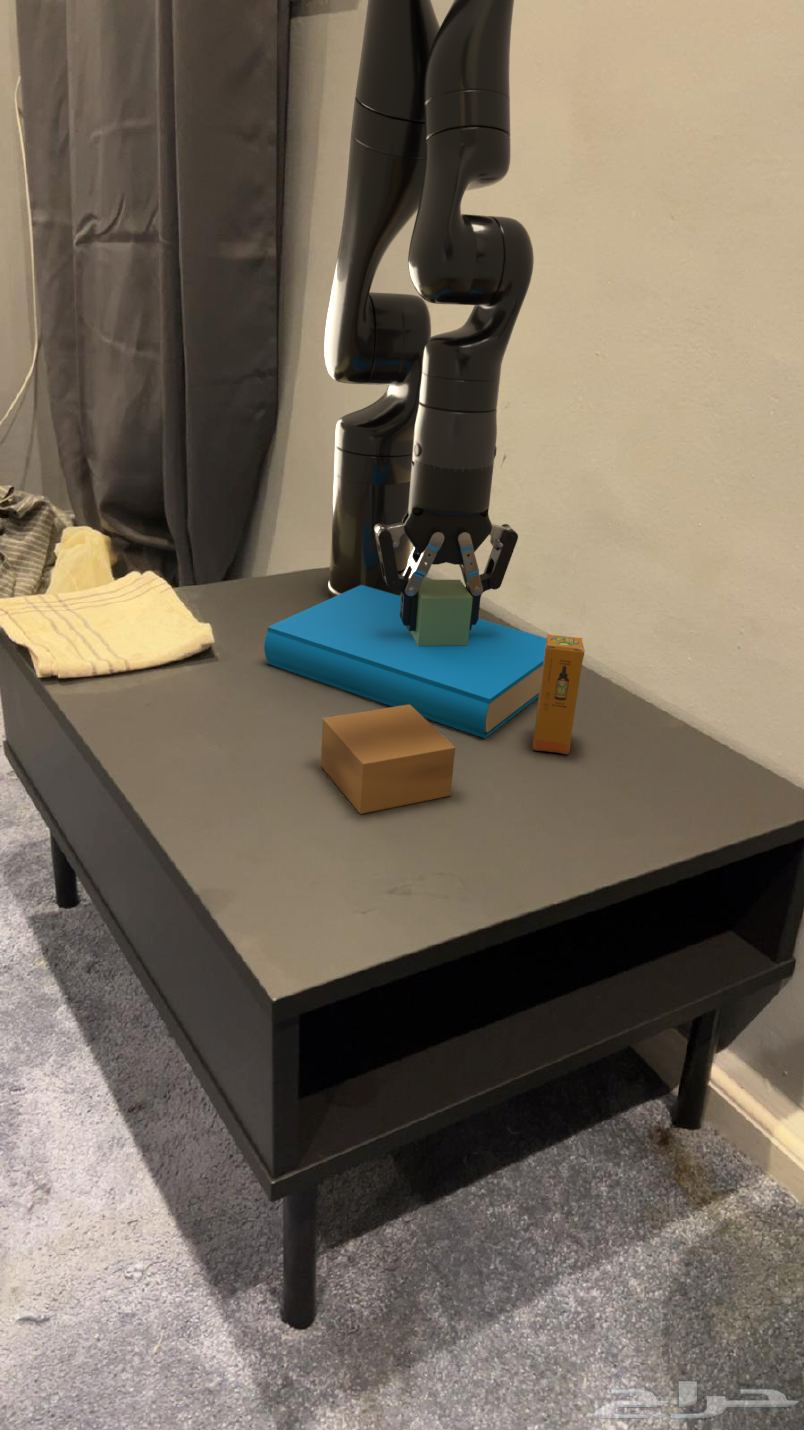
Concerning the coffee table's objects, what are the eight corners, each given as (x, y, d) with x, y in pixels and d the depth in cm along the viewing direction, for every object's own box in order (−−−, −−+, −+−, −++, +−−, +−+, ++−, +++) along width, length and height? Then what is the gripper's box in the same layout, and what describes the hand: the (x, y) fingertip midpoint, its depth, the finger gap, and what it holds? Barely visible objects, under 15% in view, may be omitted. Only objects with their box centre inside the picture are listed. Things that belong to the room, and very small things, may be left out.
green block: (407, 626, 106) (411, 579, 104) (455, 625, 107) (460, 579, 105) (417, 646, 101) (421, 597, 99) (467, 645, 102) (472, 597, 100)
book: (359, 584, 116) (568, 639, 105) (357, 620, 118) (562, 678, 107) (262, 628, 103) (489, 697, 91) (262, 669, 104) (485, 741, 93)
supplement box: (569, 738, 95) (586, 636, 90) (568, 756, 92) (585, 651, 87) (532, 733, 95) (547, 631, 91) (530, 751, 92) (545, 646, 88)
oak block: (320, 765, 87) (322, 717, 85) (406, 750, 91) (410, 703, 89) (360, 814, 81) (363, 763, 79) (450, 796, 84) (455, 747, 82)
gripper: (516, 448, 101) (496, 613, 109) (369, 444, 98) (359, 614, 106) (540, 467, 94) (518, 642, 102) (383, 463, 91) (372, 644, 99)
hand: (437, 627), depth 104 cm, fingers closed on green block, 5 cm apart
